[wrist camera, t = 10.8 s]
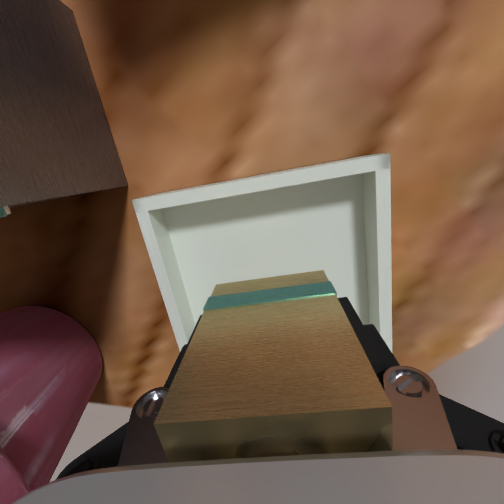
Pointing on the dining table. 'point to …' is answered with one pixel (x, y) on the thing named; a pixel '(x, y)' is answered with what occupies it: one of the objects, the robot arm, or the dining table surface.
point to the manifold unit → (49, 109)
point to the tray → (275, 236)
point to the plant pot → (40, 393)
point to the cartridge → (274, 377)
